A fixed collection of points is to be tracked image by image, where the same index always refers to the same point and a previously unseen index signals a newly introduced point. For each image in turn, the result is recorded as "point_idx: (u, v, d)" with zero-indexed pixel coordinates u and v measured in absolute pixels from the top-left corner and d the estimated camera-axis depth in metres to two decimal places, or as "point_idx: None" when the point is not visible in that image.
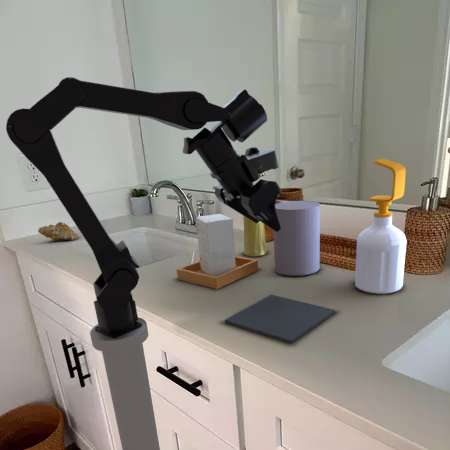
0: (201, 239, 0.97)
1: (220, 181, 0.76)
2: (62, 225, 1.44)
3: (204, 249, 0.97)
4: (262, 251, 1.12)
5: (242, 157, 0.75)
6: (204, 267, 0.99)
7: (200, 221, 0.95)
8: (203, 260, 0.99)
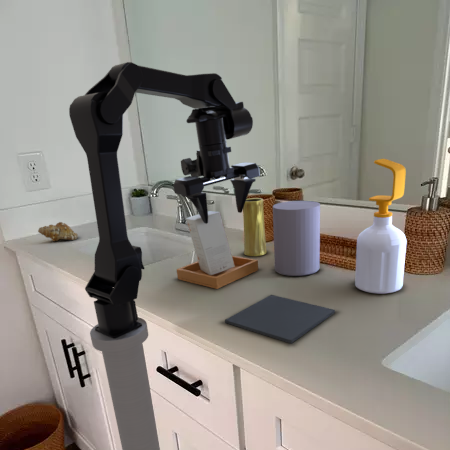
0: (194, 238, 0.98)
1: (224, 156, 0.87)
2: (62, 225, 1.44)
3: (198, 247, 0.97)
4: (262, 251, 1.12)
5: None
6: (202, 266, 0.99)
7: (189, 220, 0.96)
8: (200, 259, 0.99)
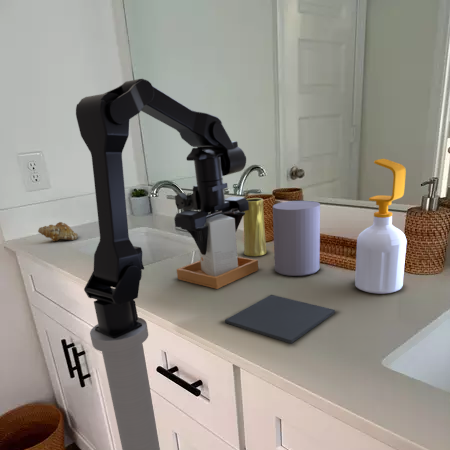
0: None
1: (222, 191, 0.92)
2: (62, 225, 1.44)
3: None
4: (262, 251, 1.12)
5: None
6: (206, 267, 0.99)
7: None
8: (205, 260, 0.99)
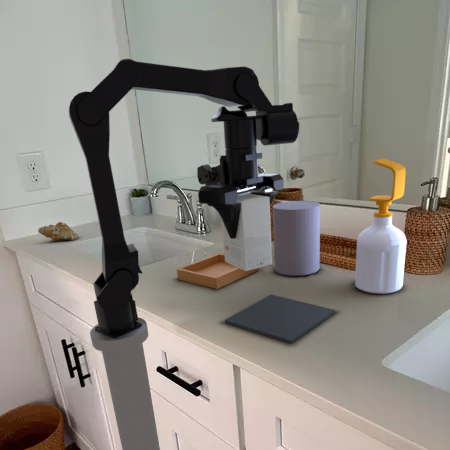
0: None
1: (256, 162, 0.76)
2: (62, 225, 1.44)
3: None
4: None
5: None
6: (233, 257, 0.82)
7: None
8: (232, 249, 0.82)
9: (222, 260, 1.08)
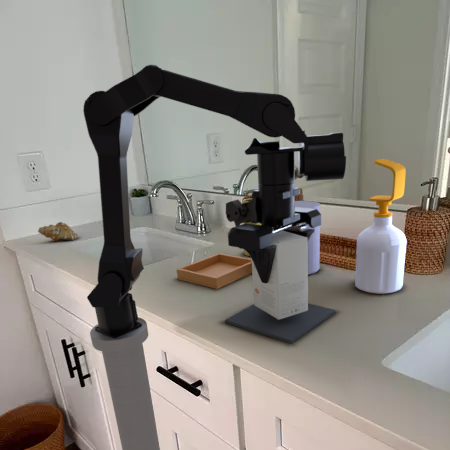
0: None
1: (293, 199, 0.67)
2: (62, 225, 1.44)
3: None
4: None
5: None
6: (263, 302, 0.74)
7: None
8: (263, 293, 0.73)
9: (222, 260, 1.08)
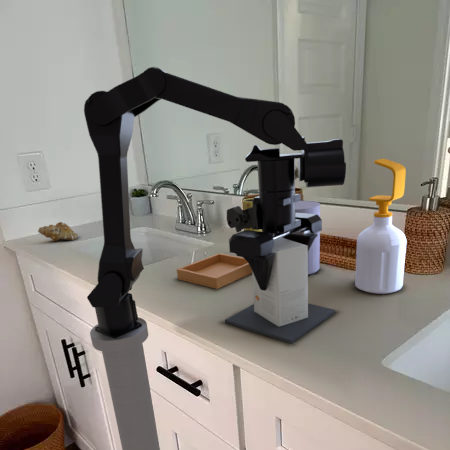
0: None
1: (294, 205, 0.68)
2: (62, 225, 1.44)
3: (267, 287, 0.71)
4: None
5: None
6: (264, 309, 0.74)
7: None
8: (263, 300, 0.74)
9: (222, 260, 1.08)
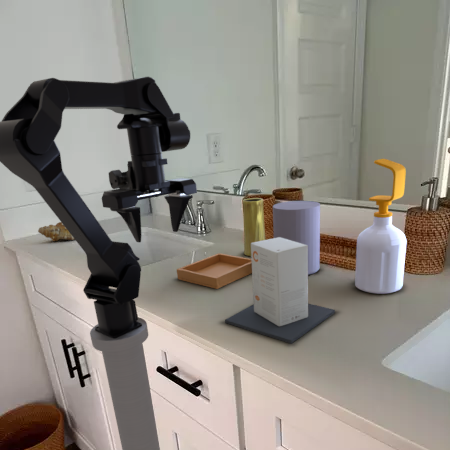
0: (261, 273, 0.72)
1: (160, 168, 0.79)
2: (62, 225, 1.44)
3: (267, 287, 0.71)
4: None
5: None
6: (264, 309, 0.74)
7: (262, 249, 0.70)
8: (263, 300, 0.74)
9: (222, 260, 1.08)
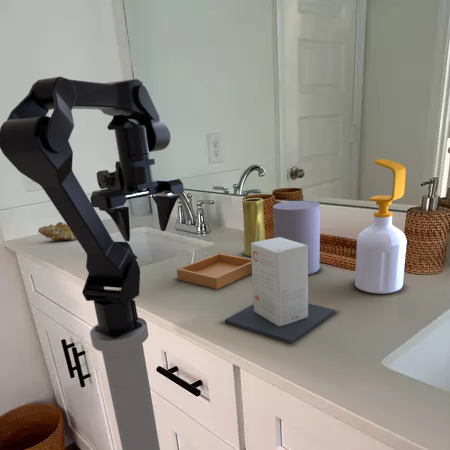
0: (261, 273, 0.72)
1: (148, 168, 0.80)
2: (62, 225, 1.44)
3: (267, 287, 0.71)
4: None
5: None
6: (264, 309, 0.74)
7: (262, 249, 0.70)
8: (263, 300, 0.74)
9: (222, 260, 1.08)
